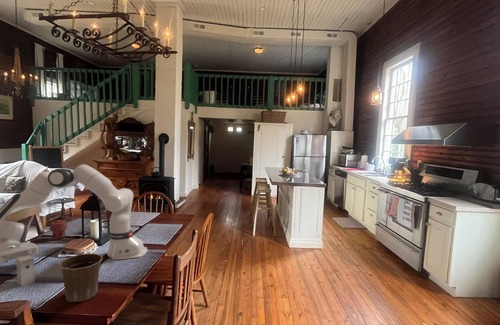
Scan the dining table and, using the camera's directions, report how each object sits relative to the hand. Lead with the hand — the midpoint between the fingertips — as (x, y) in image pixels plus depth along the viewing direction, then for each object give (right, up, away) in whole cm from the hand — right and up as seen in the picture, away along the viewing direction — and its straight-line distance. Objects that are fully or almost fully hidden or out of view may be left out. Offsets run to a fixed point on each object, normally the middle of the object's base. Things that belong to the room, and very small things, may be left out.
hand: (18, 258), depth 139 cm
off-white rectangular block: (+9, -9, -6) cm, 14 cm away
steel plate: (+20, -9, +2) cm, 22 cm away
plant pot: (+42, -12, -15) cm, 46 cm away
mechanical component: (-14, -4, +50) cm, 52 cm away
